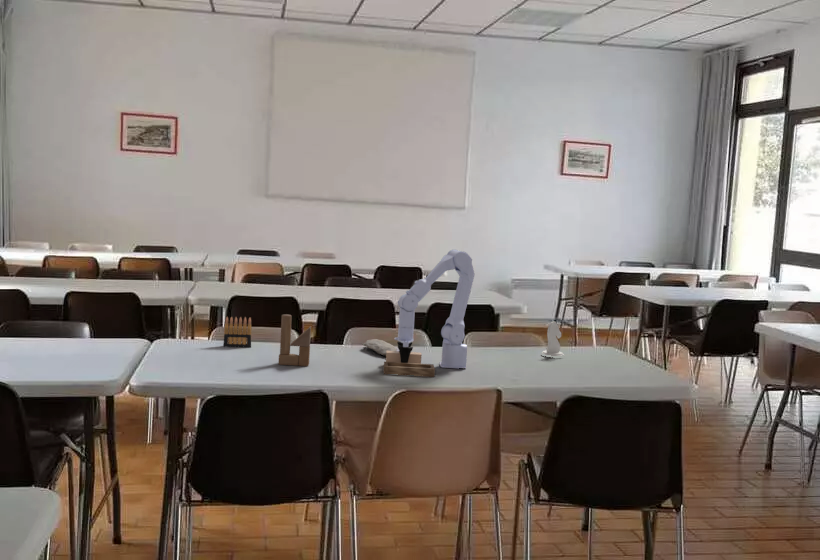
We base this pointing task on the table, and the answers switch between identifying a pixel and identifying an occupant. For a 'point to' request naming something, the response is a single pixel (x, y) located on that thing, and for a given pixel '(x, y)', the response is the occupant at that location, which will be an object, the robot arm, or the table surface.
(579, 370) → the table surface
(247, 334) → the ammunition clip
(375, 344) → the stone tool
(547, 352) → the chess piece
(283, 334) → the tan wooden block stack
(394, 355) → the tan rectangular block
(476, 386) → the table surface
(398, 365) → the wooden tray
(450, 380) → the table surface
